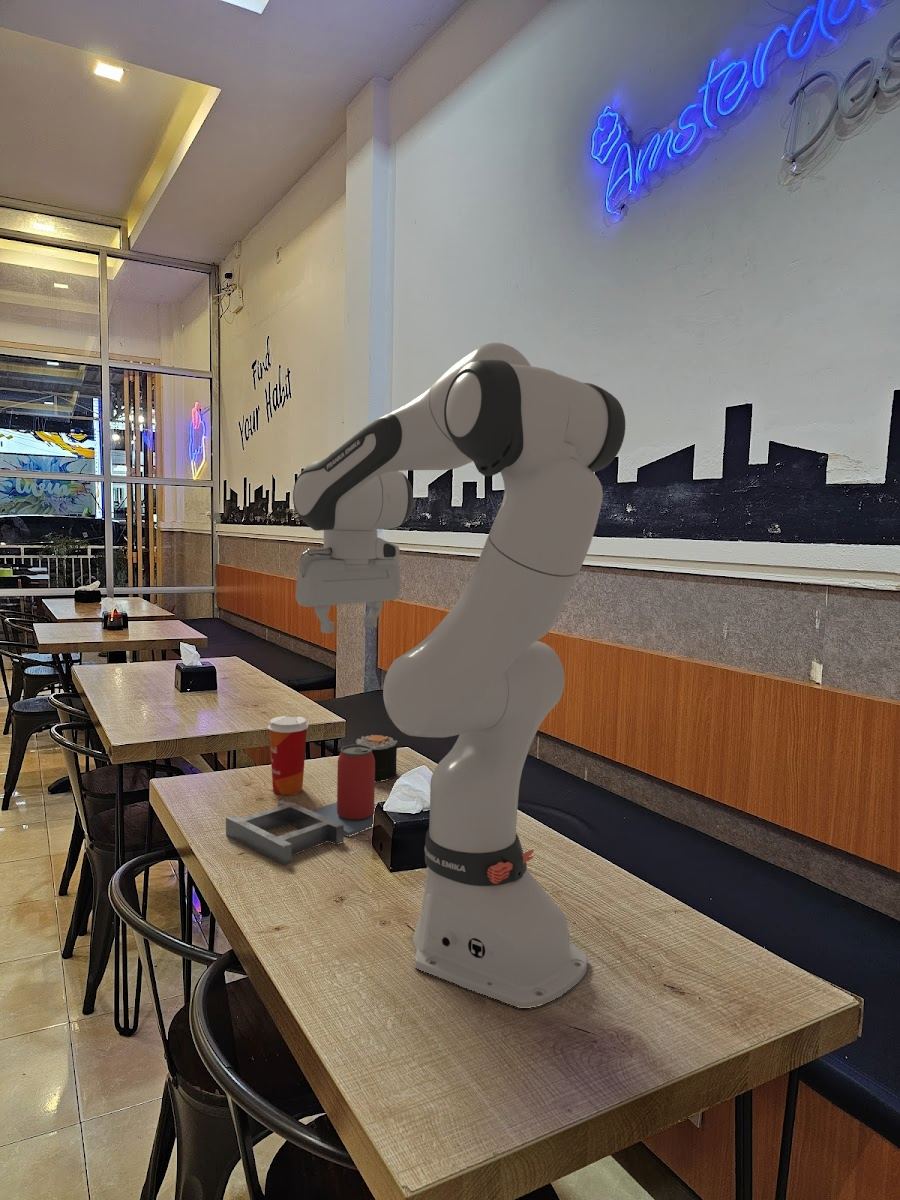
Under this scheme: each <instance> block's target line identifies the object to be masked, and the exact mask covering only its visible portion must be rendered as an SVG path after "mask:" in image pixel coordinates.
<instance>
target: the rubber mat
mask: <svg viewBox="0 0 900 1200" xmlns="http://www.w3.org/2000/svg"><path fill="white" fill-rule="evenodd" d="M376 805H378V804H376V803H374V809H375V806H376ZM310 811H313V812H315V813H317V814H320V815H322V816H324V817H326V818H329V819H331V820H333V821H336V822H338V823H340V824H342V825H344V834H346V835H348V836H349V835H352V834H355V833H357V832H360V831H362V830H365V829H366V828H369V827H372V824H373V814H374V812H373V814H372V815H371V816H370V817H369V818H366V819H363V820H347V819H344V818H341V817H340V816H339V815H338V813H337V801H336V802H333V803H330V804H327V805H325V806H321V807H318V808H314V809H311V810H310Z"/></svg>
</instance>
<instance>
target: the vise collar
mask: <svg viewBox="0 0 900 1200" xmlns="http://www.w3.org/2000/svg"><path fill="white" fill-rule="evenodd" d="M289 823H290V824H289ZM292 824H293V825H292ZM286 825H287V826H288V825H292V826H294V825H295V826H294V827H297V826H298V827H297V828H300V829H298V830H295V831H292V832H289V833H286V834H283V835H280V836H277V835H275V834H273V833H270V832H269V831H272V830H275V829H277V828H281V827H283V826H286ZM225 835H226V836H228V837H229V838H231V839H234V840H235V841H237V842H239V843H241V844H243V845H245V846H246V847H248V848H250V849H251V850H253V851H256V852H257V853H260V854H262V855H263V856H265V857H267V858H269V859H270V860H273V861H275V862H276V863H279V864H280V865H282V866H286V865H288V864H289V865H290V864H291V863H292V859H293V858H292V857H293V854H294V855H297V854H299V853H301V851H302V852H304V851H303V850H305V851H307V850H309V849H308V848H310V849H312V848H311V847H313V846H315V847H317V846H316V845H318V844H321V843H323V844H325V843H324V842H326V841H331V842H333V843H335V844H338V843H340V842H343V843H344V840H345V839H344V836H345V835H344V825H342V824H340V823H338V822H336V821H333V820H331V819H329V818H326V817H324V816H322V815H320V814H317V813H315V812H313V811H311V810H310V809H308V808H306V807H304V806H302V805H299V804H297V803H294V802H291V801H289V800H288V799H282V800H279V801H278V802H277V806H275V807H273V808H269V809H266V810H263V811H261V812H257V813H253V814H250V815H247V816H244V817H238V816H236V815H234V814H233V815H230V816H229V815H228V816H226V817H225ZM331 842H330V843H331ZM326 843H327V842H326ZM333 843H332V844H333ZM335 844H334V845H335ZM321 845H322V844H321ZM338 845H339V844H338ZM318 846H319V845H318ZM313 848H314V847H313ZM306 849H307V850H306ZM298 852H299V853H298ZM296 853H297V854H296Z"/></svg>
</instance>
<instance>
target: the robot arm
mask: <svg viewBox="0 0 900 1200" xmlns="http://www.w3.org/2000/svg"><path fill="white" fill-rule="evenodd" d="M625 434H626V415H625V412H624V409H623V406H622V404H621V402H620V401H619V400H618V399H617V398H616V397H615V396H614V395H613V394H612V393H610V392H609V391H608V390H606V389H604V388H602V387H600V386H598V385H595V384H593V383H590V382H582V381H579V380H576V379H574V378H571V377H568V376H565V375H563V374H559V373H557V372H555V371H553V370H551V369H546V368H543V367H537V366H532V365H531V363H530V362H529V361H528V359H527V358H526V357H525V356H524V355H523V353H521V352H520V351H519V350H518V349H516V348H515V347H513V346H511V345H509V344H505V343H502V342H501V343H500V342H491V343H486V344H484V345H481V346H479V347H477V348H476V349H474V350H473V351H471V352H470V353H468V354H466V355H465V356H464V357H462V358H461V359H460V360H458V361H457V362H456V363H455V364H453V365H452V366H450V367H449V369H447V370H446V372H444V373H443V374H442V375H441V376H440V377H439V378H438V379H437V380H436V381H435V382H434V383H433V384H432V385H431V386H430V387H429V388H427V390H425V391H424V392H423V393H421V394H420V395H419V396H417V397H415V398H414V399H412V400H411V401H410V402H408V403H406V404H404V405H403V406H401V407H399V408H397V409H395V410H394V411H393V410H392V411H391V412H390V413H387V414H384V415H382V416H381V417H379V418H376V419H375V420H374V421H371V422H370V423H369V424H367V425H365V426H364V427H363V428H361V429H360V430H359V431H358V432H356V433H355V434H354V435H353V436H352V437H350V438H349V439H348V440H347V441H346V442H344V443H343V444H342V445H341V446H339V447H338V448H337V449H335V450H334V451H332V452H331V453H330V454H329V455H328V456H326V457H325V458H323V460H320V461H319V460H317V461H313V462H311V463H310V464H308V465H307V466H306V467H305V468H304V469H303V470H302V471H301V472H300V473H299V475H298V476H297V478H296V480H295V482H294V485H293V491H292V502H293V508H294V510H295V512H296V514H297V515H298V517H299V518H300V519H301V520H302V521H303V522H304V523H305V524H306V525H307V526H308V527H309V528H311V529H312V530H313V531H316V532H317V531H323V547H321V548H311V547H310V548H307V549H306V550H305V551H303V553H302V554H301V555H300V556H299V559H298V571H297V578H296V583H295V584H296V586H295V600H296V602H297V604H298V605H299V606H301V607H306V608H314V613H315V615H316V617H317V619H318V621H319V622H320V632H321V634H333V633H334V632H335V622H334V621H331V620H330V618H329V615H328V614H329V613H330V612H331V611H330V609H331V606H340V605H352V604H362V603H363V604H364V603H368V605H367V606H368V608H369V607H370V608H369V611H368V614H367V616H365V617H363V627H364V628H365V629H375V628H377V627H378V618H379V615H380V613H381V611H382V609H383V602H385V601H387V602H388V601H396V600H397V598H398V597H399V595H400V591H401V570H400V564H399V562H398V560H397V559H399V557H400V551H401V550H400V547H399V546H398V545H396V544H394V543H392V542H389V541H387V540H385V539H383V538H381V537H378V530H392V529H394V528H399V527H401V526H402V525H403V524H404V523H405V522H406V521H407V520H408V518H409V517H410V515H411V513H412V511H413V506H414V505H413V504H414V491H413V487H412V484H411V482H410V480H409V479H408V478H407V476H406V474H404V473H403V471H446V470H454V469H458V468H461V467H463V466H467V465H468V464H471V463H472V462H473V464H474V465H475V468H476V470H477V471H478V473H480V474H481V475H482V476H484V477H492V476H495V475H497V474H499V473H500V474H501V477H502V480H503V485H504V486H503V487H504V488H503V489H504V492H503V499H502V501H501V504H500V506H499V507H500V508H499V510H498V512H497V514H496V516H495V519H494V521H493V524H492V525H491V528H490V531H489V533H488V536H487V538H486V541H485V543H484V546H483V549H482V551H481V553H480V556H479V558H478V560H477V563H476V565H475V567H474V570H473V572H472V573H471V577H470V579H469V582H467V586H466V587H465V589H464V591H463V593H462V594H461V595H460V597H459V598H458V600H457V601H456V602H455V604H454V605H453V606H452V608H451V610H450V611H448V613H447V614H446V615H445V617H444V618H443V619H442V620H441V621H440V622H439V623H438V624H437V625H436V627H435V628H434V629H433V630H432V631H431V632H430V633H429V634H428V635H427V636H426V637H425V638H424V639H423V640H422V641H420V642H419V643H418V644H417V645H415V646H414V647H413V648H411V649H410V650H408V651H407V652H404V653H403V654H401V655H400V656H398V657H397V658H395V659H394V660H393V661H392V663H391V664H390V666H389V667H388V670H387V672H386V674H385V677H384V679H383V680H384V682H383V686H382V687H383V689H382V690H383V691H382V693H383V695H382V696H383V702H384V703H383V704H384V707H385V710H386V713H387V715H388V717H389V718H390V720H391V722H393V725H394V726H395V727H396V728H397V729H398V730H400V731H401V733H403V734H404V735H407V736H410V737H423V738H441V739H442V738H448V737H455V736H458V737H457V740H456V741H455V743H454V745H453V746H452V749H450V750H449V752H448V753H447V754H446V755H445V756H444V757H443V758H442V759H441V760H440V761H439V762H438V764H437V765H436V767H435V768H434V770H433V772H432V775H431V779H430V787H429V788H430V789H429V790H430V793H429V821H428V823H429V827H428V830H426V833H425V845H424V862H425V865H426V874H425V875H426V878H425V885H424V892H423V897H422V902H421V907H420V913H419V917H418V919H417V920H418V921H417V923H416V927H415V929H414V932H413V936H412V940H413V941H412V942H413V945H414V948H415V951H416V952H415V955H414V963H413V966H414V965H415V966H414V968H415V969H416V968H417V969H419V970H421V971H420V972H422V971H424V972H423V973H425V972H427V973H429V974H428V975H430V974H432V975H434V976H433V977H435V976H438V977H439V978H438V977H437V978H438V979H440V978H443V979H446V980H448V981H450V982H449V983H451V982H453V983H455V984H454V985H456V984H457V985H456V986H458V985H459V987H461V988H464V989H466V988H467V990H470V991H471V990H472V991H471V992H474V991H475V992H474V993H477V994H479V993H480V994H479V995H482V994H483V995H482V996H484V995H486V996H485V997H487V996H488V998H490V997H491V998H490V999H492V998H495V999H498V1000H501V1001H503V1002H507V1003H509V1004H512V1005H514V1006H519V1007H530V1006H531V1007H532V1006H537V1005H540V1004H544V1003H547V1002H549V1001H552V1000H554V1001H556V1000H557V999H556V998H558V997H560V996H561V997H563V996H564V995H565V994H564V993H566V992H567V991H568V990H570V989H571V988H572V987H573V986H574V987H576V986H577V985H578V984H579V983H580V982H581V980H582V979H583V978H584V977H585V975H586V973H587V970H588V955H587V953H586V952H585V951H583V950H582V949H580V948H579V947H578V946H576V945H574V944H573V943H572V942H570V933H569V932H570V931H569V925H568V921H567V916H566V914H565V913H564V911H563V910H562V908H561V907H559V905H558V904H557V903H556V902H555V901H554V900H553V899H552V897H551V895H549V894H548V893H547V892H546V890H545V889H544V888H543V887H542V886H541V885H540V883H539V881H537V880H536V879H535V877H534V876H533V875H532V874H531V873H530V871H528V869H527V868H528V867H527V862H529V861H531V860H532V859H534V855H532V854H533V853H534V851H535V849H529V850H528V851H526V852H524V851H523V847H522V845H521V844H522V843H521V841H520V837H519V835H518V833H517V821H518V820H517V819H518V807H519V792H520V784H521V778H522V775H523V774H522V772H523V769H524V766H525V762H526V759H527V756H528V753H529V751H530V748H531V746H532V743H533V741H534V739H535V736H536V734H537V732H538V730H539V728H540V727H541V725H542V723H543V721H544V720H545V718H546V717H547V715H549V713H550V712H551V711H552V710H553V709H554V708H555V706H557V705H558V703H559V702H560V700H561V698H562V695H563V693H564V689H565V671H564V667H563V664H562V661H561V659H560V657H559V656H558V654H557V653H556V651H555V650H554V649H553V648H552V647H551V646H550V645H548V644H547V643H545V642H542V641H539V640H541V639H542V638H543V637H545V636H546V635H547V634H548V633H549V632H550V631H551V630H552V628H553V627H554V626H555V624H556V623H557V620H558V618H559V616H560V614H561V613H562V610H563V608H564V605H565V603H566V601H567V599H568V597H569V595H570V592H571V590H572V587H574V583H575V582H576V579H577V577H578V576H579V573H580V570H581V569H582V566H583V563H584V562H585V559H586V557H587V554H588V551H589V549H590V546H591V544H592V541H593V537H594V534H595V531H596V528H597V524H598V519H599V516H600V511H601V507H602V503H603V497H604V495H603V494H604V493H603V486H602V484H601V481H600V480H599V477H598V476H597V475H596V474H595V473H596V472H599V471H601V470H603V469H605V468H606V467H608V466H609V465H610V464H611V463H612V462H613V461H614V460H615V458H616V457H617V455H618V454H619V452H620V450H621V448H622V445H623V443H624V439H625ZM417 969H416V970H417ZM419 970H418V971H419ZM427 973H426V974H427ZM432 975H431V976H432ZM443 979H442V980H443ZM448 981H447V982H448ZM578 982H579V983H578ZM453 983H452V984H453ZM577 983H578V984H577ZM576 984H577V985H576ZM575 985H576V986H575ZM574 987H573V988H574ZM573 988H572V989H573ZM572 989H571V990H572ZM571 990H570V991H571ZM568 992H569V991H568ZM568 992H567V993H568ZM567 993H566V994H567ZM563 994H564V995H563ZM562 995H563V996H562ZM561 997H560V998H561ZM495 999H494V1000H495ZM555 999H556V1000H555ZM558 999H559V998H558ZM503 1002H502V1003H503ZM552 1002H553V1001H552Z"/></svg>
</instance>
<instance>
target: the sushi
mask: <svg viewBox="0 0 900 1200" xmlns="http://www.w3.org/2000/svg"><path fill="white" fill-rule="evenodd" d="M355 745H366V746H369V747H371V748H372V753H373V756H374V759H375V781H381V780H386V779H389V778H391V777H394V776H395V777H397V757H398V756H397V753H398V749H397V748H398V740H394V738H393V737H392V736H387V735H386V736H384V735H380V734H379V735H378V734H371V735H366V736H364V735H361V737H360V738H357V739H356V740H355ZM395 777H394V778H395ZM391 779H392V778H391ZM389 780H390V779H389Z"/></svg>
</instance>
